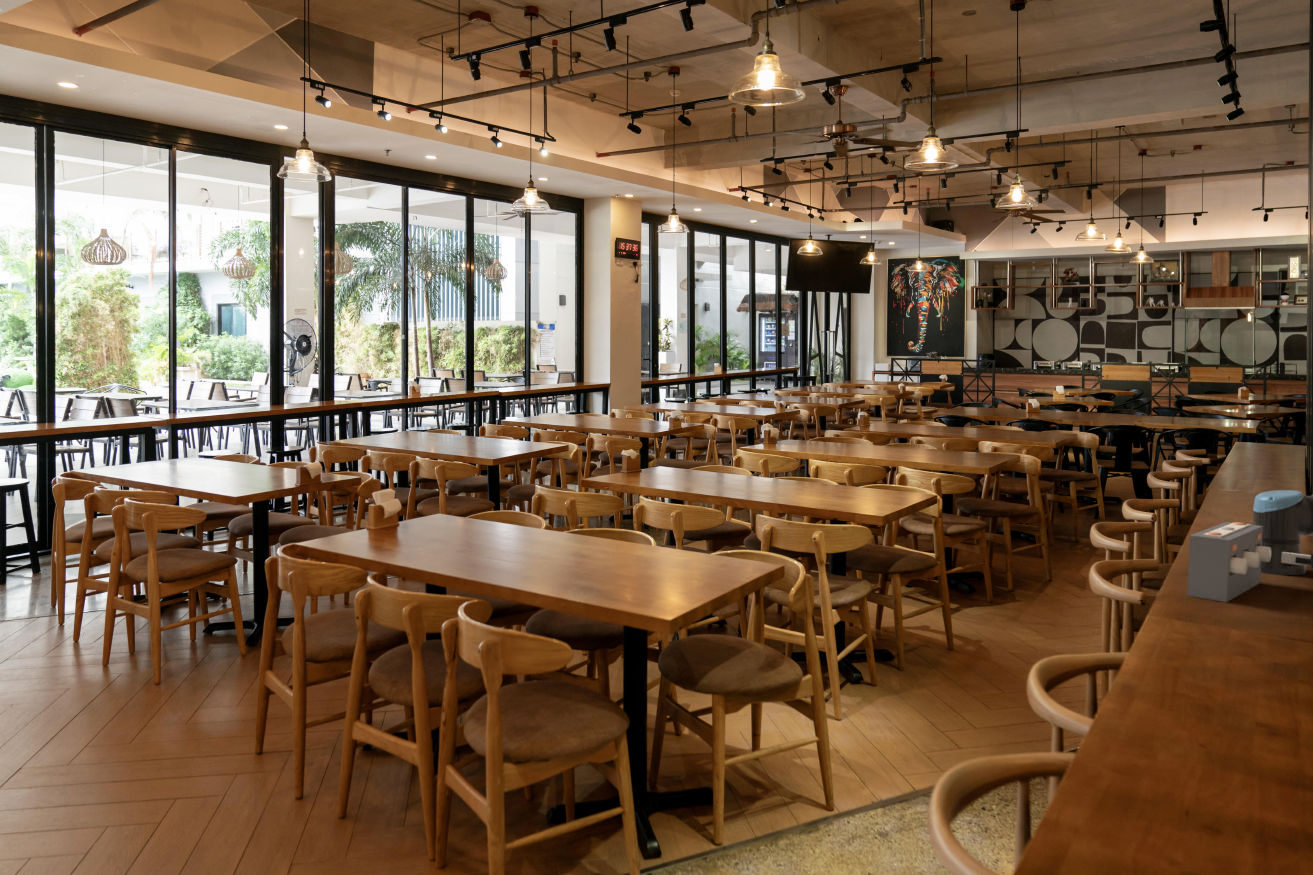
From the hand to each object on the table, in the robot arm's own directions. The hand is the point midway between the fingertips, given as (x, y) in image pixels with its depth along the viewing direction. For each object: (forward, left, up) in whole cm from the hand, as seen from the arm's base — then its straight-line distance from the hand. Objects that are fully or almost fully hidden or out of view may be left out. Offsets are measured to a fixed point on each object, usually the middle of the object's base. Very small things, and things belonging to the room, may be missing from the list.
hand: (1282, 557), depth 240 cm
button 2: (-1, -6, -2) cm, 6 cm away
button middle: (+10, -6, -2) cm, 12 cm away
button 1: (+21, -6, -2) cm, 22 cm away
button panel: (+10, -10, -9) cm, 17 cm away
